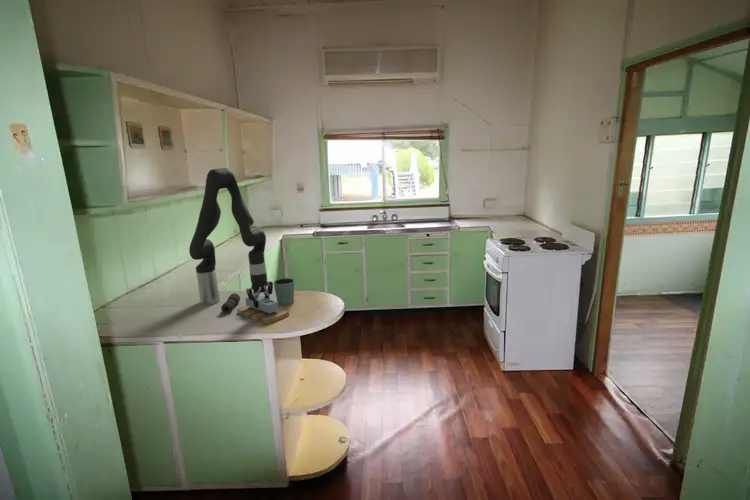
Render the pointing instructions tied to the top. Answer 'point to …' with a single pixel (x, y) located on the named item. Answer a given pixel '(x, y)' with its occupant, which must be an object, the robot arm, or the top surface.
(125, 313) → the top surface
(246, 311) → the mount board
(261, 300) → the blue-grey block with holes
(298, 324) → the top surface
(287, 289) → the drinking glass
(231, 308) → the flashlight
